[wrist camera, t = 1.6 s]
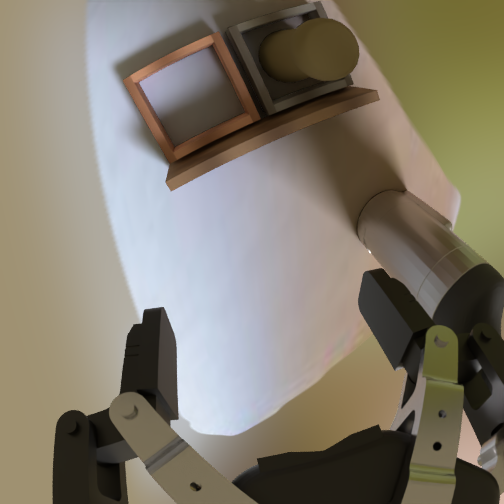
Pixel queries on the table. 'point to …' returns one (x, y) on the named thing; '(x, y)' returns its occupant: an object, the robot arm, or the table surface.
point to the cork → (310, 52)
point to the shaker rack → (245, 103)
